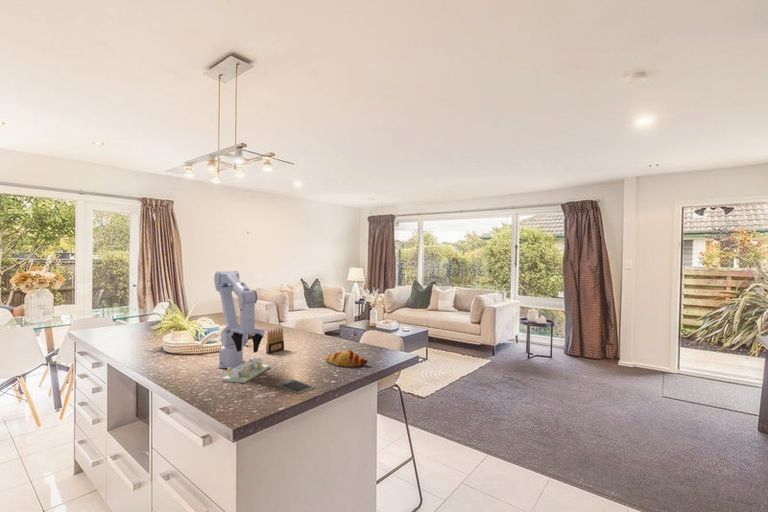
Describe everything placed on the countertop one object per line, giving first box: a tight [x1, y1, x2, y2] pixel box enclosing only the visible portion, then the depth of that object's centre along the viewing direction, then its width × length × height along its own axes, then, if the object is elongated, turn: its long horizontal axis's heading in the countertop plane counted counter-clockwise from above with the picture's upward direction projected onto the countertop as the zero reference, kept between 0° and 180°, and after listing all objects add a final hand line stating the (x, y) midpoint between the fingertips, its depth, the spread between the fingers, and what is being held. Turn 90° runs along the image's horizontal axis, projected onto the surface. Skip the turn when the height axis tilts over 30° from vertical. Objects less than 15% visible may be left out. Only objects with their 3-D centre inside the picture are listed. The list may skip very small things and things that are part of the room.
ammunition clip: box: [265, 327, 285, 355], centre depth 188 cm, size 11×2×12 cm, turn 150°
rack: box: [221, 360, 271, 384], centre depth 152 cm, size 10×20×4 cm, turn 169°
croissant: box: [325, 349, 368, 368], centre depth 166 cm, size 21×10×8 cm, turn 71°
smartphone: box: [274, 378, 316, 395], centre depth 137 cm, size 15×8×1 cm, turn 50°
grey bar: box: [230, 357, 262, 379], centre depth 152 cm, size 18×5×3 cm, turn 169°
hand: (247, 351), depth 152 cm, fingers open, 7 cm apart
